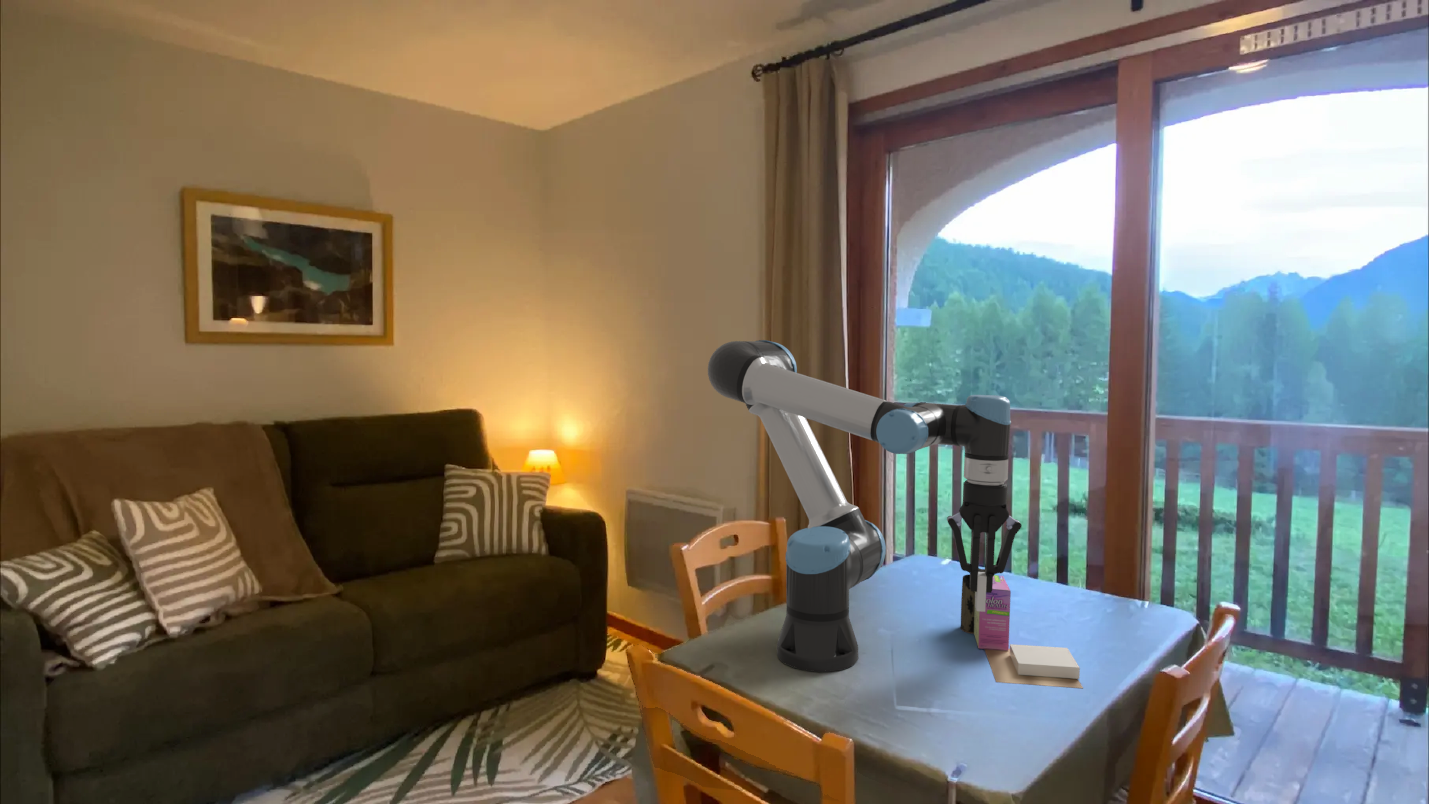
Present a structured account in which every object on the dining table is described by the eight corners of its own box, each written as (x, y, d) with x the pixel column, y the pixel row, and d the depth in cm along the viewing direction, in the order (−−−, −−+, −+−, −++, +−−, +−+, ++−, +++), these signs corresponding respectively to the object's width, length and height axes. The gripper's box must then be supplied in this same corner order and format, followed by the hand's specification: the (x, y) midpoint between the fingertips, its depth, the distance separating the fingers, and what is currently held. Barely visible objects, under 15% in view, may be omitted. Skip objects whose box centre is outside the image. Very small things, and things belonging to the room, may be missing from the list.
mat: (996, 684, 137) (996, 681, 137) (983, 649, 153) (983, 646, 153) (1083, 691, 135) (1083, 688, 135) (1061, 654, 150) (1061, 651, 150)
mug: (984, 637, 158) (985, 578, 158) (956, 632, 161) (957, 573, 161) (995, 627, 165) (996, 569, 164) (969, 622, 168) (969, 565, 167)
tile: (1018, 663, 140) (1079, 667, 138) (1009, 644, 148) (1067, 647, 147) (1018, 675, 140) (1079, 679, 138) (1009, 655, 149) (1067, 659, 147)
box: (1009, 651, 150) (1010, 589, 150) (978, 649, 152) (979, 587, 151) (1002, 633, 161) (1003, 575, 160) (972, 631, 162) (973, 573, 161)
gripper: (949, 483, 141) (944, 612, 143) (1027, 486, 139) (1021, 619, 141) (946, 475, 149) (941, 599, 151) (1020, 479, 146) (1014, 604, 148)
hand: (979, 608), depth 146 cm, fingers closed
